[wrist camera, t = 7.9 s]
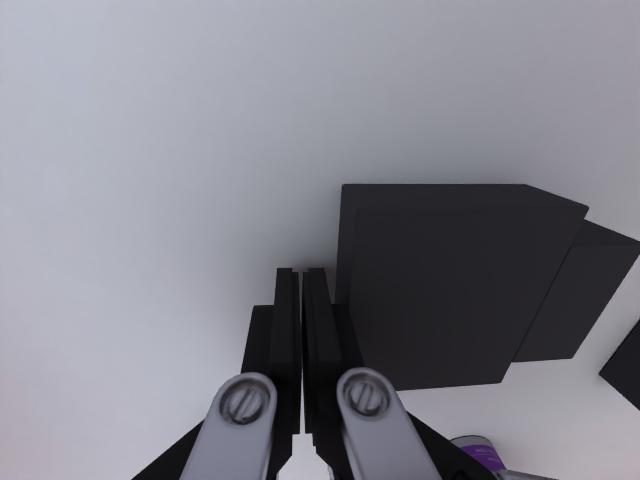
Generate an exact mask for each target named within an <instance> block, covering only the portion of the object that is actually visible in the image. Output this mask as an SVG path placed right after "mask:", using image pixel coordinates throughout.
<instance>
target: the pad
mask: <svg viewBox="0 0 640 480" xmlns="http://www.w3.org/2000/svg"><path fill="white" fill-rule="evenodd" d="M588 210H589V207H588V206H586V205H583V204H581V203H578V202H575V201H572V200H569V199H566V198H563V197H561V196H558V195H555V194H552V193H549V192H546V191H543V190H541V189H538V188H535V187H532V186H529V185H526V184H343V185H342V192H341V208H340V223H339V239H338V254H337V270H336V285H335V301H334V304H347V306H348V309H349V313H350V316H351V320H352V323H353V327H354V330H355V334H356V337H357V341H358V344H359V348H360V352H361V355H362V359H363V362H364V366H365V368H370V369H373V370H375V371H377V372H379V373H381V374H382V375H383V376H385V377H386V378H387V379H388V380H389V381H390V383H391V384H392V386H393V387H394V389H395V391H402V390H416V389H429V388H443V387H456V386H470V385H483V384H497V383H501V382H502V380H503V378H504V376H505V374H506V372H507V370H508V368H509V366H510V364H511V362H513V363H514V362H529V361H544V360H559V359H571V358H573V356H574V355H575V353H576V352H577V350H578V349H579V347H580V345H581V344H582V342H583V341H584V339H585V338H586V336H587V335H588V333H589V332H590V330H591V328H592V327H593V325H594V324H595V322H596V321H597V319H598V318H599V316H600V315H601V313H602V312H603V310H604V308H605V307H606V305H607V304H608V302H609V301H610V299H611V298H612V296H613V295H614V293H615V292H616V290H617V288H618V287H619V285H620V284H621V282H622V281H623V279H624V278H625V276H626V275H627V273H628V272H629V270H630V268H631V267H632V265H633V264H634V262H635V261H636V259H637V258H638V256H639V255H640V241H637V240H635V239H632V238H630V237H627V236H625V235H622V234H620V233H617V232H615V231H612V230H610V229H607V228H605V227H602V226H600V225H597V224H595V223H592V222H590V221H587V220H585V219H584V218H585V216H586V214H587V212H588Z"/></svg>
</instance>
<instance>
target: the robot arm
mask: <svg viewBox="0 0 640 480" xmlns="http://www.w3.org/2000/svg"><path fill="white" fill-rule="evenodd" d="M302 370H303V393H304V417H305V434H309V433H312V437H313V446H316V453H317V454H318V455H319V456H320V457H321V458H322V459H323V460H324V461H325V462H326V463H327V464H328V471H329V476H330V480H557V479H552V478H547V477H542V476H537V475H531V474H526V473H521V472H516V471H511V470H505V469H500V470H499V472H493V471H490V470H488V469H487V468H486V467H485V466H484V465H483V464H481V463H480V462H479V461H477V460H476V459H474V458H473V457H472V456H470V455H469V454H467V453H466V452H464V451H463V450H462V449H460V448H459V447H457V446H456V445H454V444H453V443H452V442H450V441H449V440H447V439H446V438H445V437H443V436H442V435H440V434H439V433H437V432H436V431H435V430H433V429H432V428H430V427H429V426H427V425H426V424H425V423H423V422H422V421H420V420H419V419H417V418H416V417H415V416H413V415H412V414H410V413H409V412H408V411H406V410H405V408H404V406H403V404H402V402H401V400H400V399H399V397H398V395H397V393H396V391H395V389H394V387H393V386H392V384H391V383H390V381H389V380H388V379H387V378H386V377H385V376H383V375H382V374H381V373H379V372H377V371H375V370H373V369H370V368H365V366H364V362H363V359H362V355H361V352H360V348H359V344H358V341H357V337H356V334H355V330H354V327H353V323H352V320H351V316H350V313H349V309H348V306H347V304H331V301H330V296H329V291H328V286H327V281H326V276H325V271H324V268H309V269H308V272H303V279H302V313H301V322H300V298H299V274H298V272H292V268H277V276H276V288H275V299H274V305H254V307H253V311H252V316H251V321H250V327H249V332H248V337H247V342H246V347H245V353H244V358H243V363H242V368H241V374H239V375H236V376H234V377H233V378H231V379H229V380H228V381H226V382H225V383H224V384H223V385H222V386H221V387H220V388H219V390H218V392H217V394H216V395H215V397H214V399H213V401H212V404H211V406H210V409H209V411H208V413H207V416H206V418H205V419H204V420H203V421H202V422H200V423H199V424H198V425H197V426H195V427H194V428H193V429H192V430H191V431H189V432H188V433H187V434H186V435H185V436H183V437H182V438H181V439H180V440H179V441H177V442H176V443H175V444H174V445H172V446H171V447H170V448H169V449H168V450H166V451H165V452H164V453H163V454H162V455H160V456H159V457H158V458H157V459H156V460H154V461H153V462H152V463H151V464H149V465H148V466H147V467H146V468H145V469H143V470H142V471H141V472H140V473H139V474H137V475H136V476H135V477H134V478H133V479H131V480H278V478H279V471H280V469H281V468H282V467H283V466H284V464H285V463H286V462H287V461H288V459H289V458H290V457H291V456H292V435H293V434H300V409H301V380H302Z"/></svg>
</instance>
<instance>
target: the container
mask: <svg viewBox="0 0 640 480" xmlns="http://www.w3.org/2000/svg"><path fill="white" fill-rule="evenodd" d="M450 442H452V443H453V444H454V445H456V446H457V447H459V448H460V449H462V450H463V451H464V452H466V453H467V454H469V455H470V456H472V457H473V458H474V459H476V460H477V461H479V462H480V463H481V464H483V465H484V466H485V467H486V468H487V469H488V470H490V471H493V472H499V470H500V469H505V470H507V469H506V468H505V466H504V464H503V463H502V461H501V459H500V457H499V456H498V454H497V452H496V451H495V449H494V448H493V446H492V444H491V443H490V441H489V440H487V439H485V438H483V437H478V436H469V437H462V438H458V439H454V440H451V441H450Z"/></svg>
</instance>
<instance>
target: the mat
mask: <svg viewBox="0 0 640 480" xmlns="http://www.w3.org/2000/svg"><path fill="white" fill-rule="evenodd" d="M599 375H600V376H601V377H602V378H604V379H605V380H606V381H607V382H608V383H609V384H610V385H611V386H613V387H614V388H615V389H616V390H617V391H618V392H619V393H620V394H622V395H623V396H624V397H625V398H626V399H627V400H628V401H629V402H631V403H632V404H633V405H634V406H635V407H636V408H637V409H639V410H640V322H639V323H638V324H637V326H636V327H635V328H634V330H633V331H632V332H631V333H630V335H629V336H628V337H627V339H626V340H625V341H624V343H623V344H622V345H621V346H620V348H619V349H618V350H617V352H616V353H615V354H614V356H613V357H612V358H611V360H610V361H609V362H608V363H607V365H606V366H605V367H604V369H603V370H602V371H601V373H600V374H599Z"/></svg>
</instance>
